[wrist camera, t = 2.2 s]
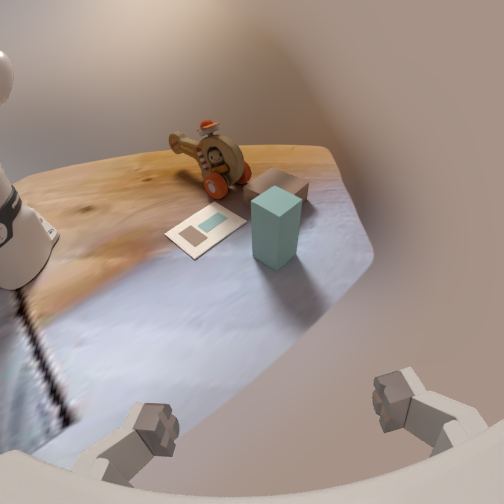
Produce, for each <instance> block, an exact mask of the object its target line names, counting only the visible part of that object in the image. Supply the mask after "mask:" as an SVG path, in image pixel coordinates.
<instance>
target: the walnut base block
mask: <svg viewBox="0 0 504 504" xmlns="http://www.w3.org/2000/svg"><path fill="white" fill-rule="evenodd" d="M274 185H275V186H277V187H279V188H281V189H283V190H285V191H287V192H289V193H291V194H293V195H295V196H297V197H299V198H301V199H303V200H302V203H303V202H304V201H306V200H307V194H308V185H309V182H307V181H305V180H302V179H300V178H297V177H295V176H292V175H290V174H287V173H285V172H282V171H280V170H277V169H275V168H272V167H271V168H270V169H268V170H267V171H265V172H264V173H262V174H261V175H259V176H258V177H257V178H255V179H254V180H252V181H251V182H249V183H248V184H247V185H245V186H244V187H243V188H244V204H246V205H248V206H250V207H251V200H253V199H254V198H256V197H257V196H259V195H260V194H262V193H264V192H265V191H267V190H268V189H270V188H271V187H273V186H274Z"/></svg>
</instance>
